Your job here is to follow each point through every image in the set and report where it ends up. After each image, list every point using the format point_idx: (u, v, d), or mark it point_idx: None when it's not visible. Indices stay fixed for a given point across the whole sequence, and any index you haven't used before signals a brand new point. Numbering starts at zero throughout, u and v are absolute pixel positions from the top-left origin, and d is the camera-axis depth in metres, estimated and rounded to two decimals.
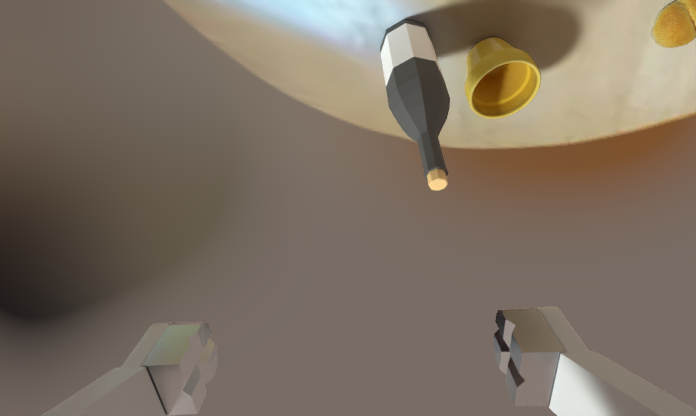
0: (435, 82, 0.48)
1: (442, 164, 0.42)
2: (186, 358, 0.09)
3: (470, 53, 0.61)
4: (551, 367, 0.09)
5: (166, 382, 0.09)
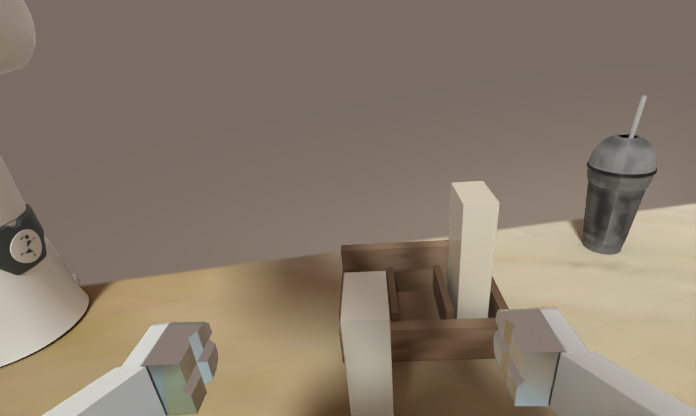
0: None
1: None
2: (186, 358, 0.09)
3: None
4: (551, 367, 0.09)
5: (166, 382, 0.09)
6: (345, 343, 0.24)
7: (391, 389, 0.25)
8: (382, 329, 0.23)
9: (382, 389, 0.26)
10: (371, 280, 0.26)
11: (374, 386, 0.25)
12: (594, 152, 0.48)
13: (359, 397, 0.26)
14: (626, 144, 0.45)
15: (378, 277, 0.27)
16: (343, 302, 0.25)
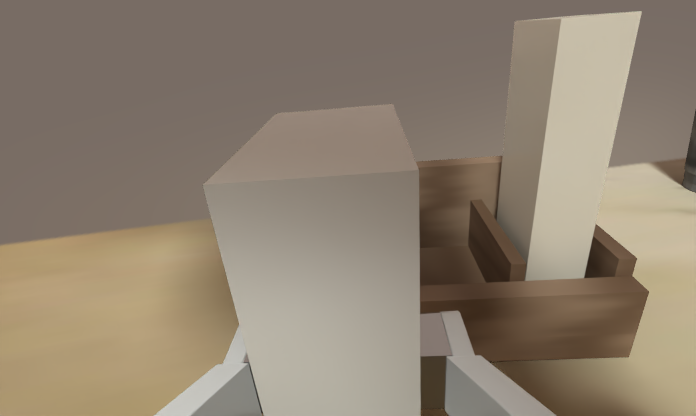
0: None
1: None
2: None
3: None
4: (440, 370, 0.09)
5: None
6: (240, 290, 0.06)
7: None
8: (386, 225, 0.05)
9: None
10: (352, 115, 0.09)
11: None
12: None
13: None
14: None
15: (372, 111, 0.09)
16: (244, 148, 0.07)
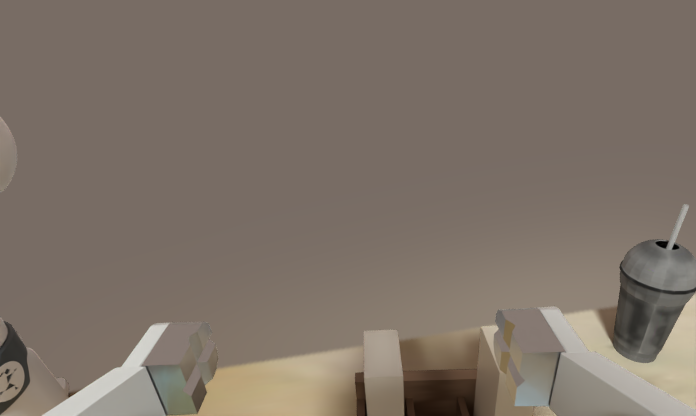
0: None
1: None
2: (186, 358, 0.09)
3: None
4: (551, 367, 0.09)
5: (166, 382, 0.09)
6: (367, 394, 0.30)
7: None
8: (397, 383, 0.29)
9: None
10: (387, 338, 0.33)
11: None
12: (629, 258, 0.44)
13: None
14: (666, 257, 0.41)
15: (392, 336, 0.33)
16: (365, 359, 0.31)
